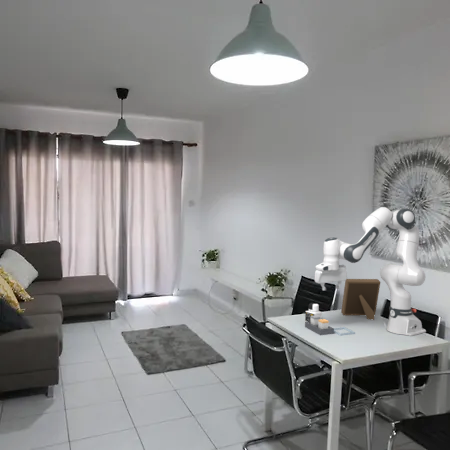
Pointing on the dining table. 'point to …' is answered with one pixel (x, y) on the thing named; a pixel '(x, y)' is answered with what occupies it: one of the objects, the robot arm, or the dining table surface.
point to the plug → (323, 323)
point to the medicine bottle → (312, 311)
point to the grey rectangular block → (315, 320)
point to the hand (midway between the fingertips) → (330, 289)
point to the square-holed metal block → (319, 329)
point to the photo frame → (360, 297)
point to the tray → (343, 333)
